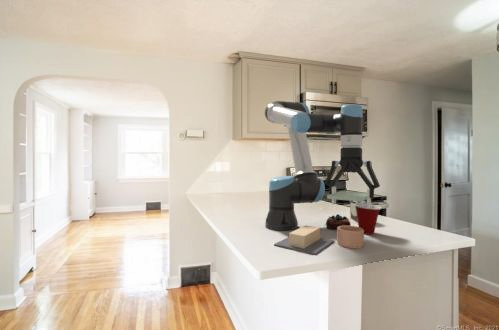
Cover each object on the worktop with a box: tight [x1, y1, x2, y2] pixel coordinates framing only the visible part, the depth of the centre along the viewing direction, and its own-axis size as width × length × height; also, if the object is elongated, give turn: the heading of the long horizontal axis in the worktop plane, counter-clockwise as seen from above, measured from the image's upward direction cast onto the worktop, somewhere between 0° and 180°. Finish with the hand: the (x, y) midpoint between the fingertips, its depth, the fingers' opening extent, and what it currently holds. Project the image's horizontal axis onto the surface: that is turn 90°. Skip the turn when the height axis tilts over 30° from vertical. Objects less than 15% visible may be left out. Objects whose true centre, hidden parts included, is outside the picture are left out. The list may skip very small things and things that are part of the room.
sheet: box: [326, 190, 367, 202], centre depth 102 cm, size 12×16×1 cm
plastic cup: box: [354, 203, 382, 235], centre depth 119 cm, size 11×11×12 cm
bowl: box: [336, 225, 365, 249], centre depth 103 cm, size 9×9×6 cm
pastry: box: [325, 214, 351, 231], centre depth 129 cm, size 11×12×6 cm
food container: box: [349, 200, 367, 224], centre depth 142 cm, size 12×6×10 cm, turn 179°
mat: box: [273, 225, 335, 256], centre depth 104 cm, size 16×18×5 cm
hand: (350, 205), depth 103 cm, fingers closed on sheet, 12 cm apart
